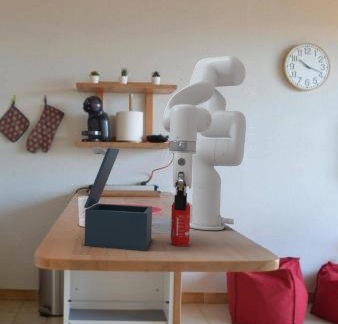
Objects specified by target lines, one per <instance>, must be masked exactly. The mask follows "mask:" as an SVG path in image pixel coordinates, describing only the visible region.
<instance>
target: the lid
mask: <svg viewBox="0 0 338 324" xmlns="http://www.w3.org/2000/svg"><path fill="white" fill-rule="evenodd" d="M120 151H121V150H120V148H116V147H115V148H114V147H107V149H106V151H104V148H102V147H101V146H100V147H99V146H94V147H93V149H92V153H93V154H95V155H102V156H103V159H102V161H101V164H100V166H99V168H98V171H97V173H96V177H95V179H94V181H93V184H92V186H91V188H90V191H89V194H88V195H87V196H88V199H87V201H86V204H85V206H84V208H89V207H90V206H92V205H94V204H96V203H98V202H99V200H100V201H101V198H102V195H103V193H104V190H105V187H106V185H107V183H108V179H109V177H110V174H111V172H112V170H113V167H114V165H115V162H116V159H117V157H118V155H119V152H120Z"/></svg>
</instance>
